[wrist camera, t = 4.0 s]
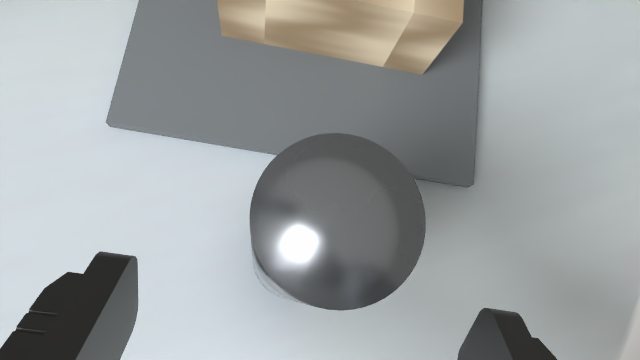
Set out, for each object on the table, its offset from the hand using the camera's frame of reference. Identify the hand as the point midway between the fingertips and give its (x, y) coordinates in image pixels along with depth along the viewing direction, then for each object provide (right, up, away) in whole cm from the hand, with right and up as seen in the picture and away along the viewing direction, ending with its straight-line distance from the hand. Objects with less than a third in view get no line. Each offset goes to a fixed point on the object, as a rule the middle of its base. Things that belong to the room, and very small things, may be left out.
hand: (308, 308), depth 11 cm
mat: (0, +12, +10) cm, 15 cm away
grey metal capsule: (-1, 0, +7) cm, 7 cm away
